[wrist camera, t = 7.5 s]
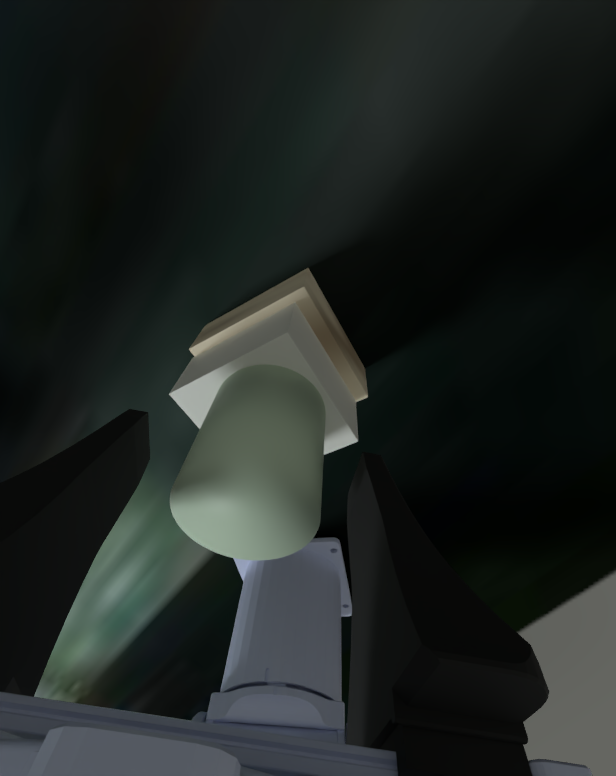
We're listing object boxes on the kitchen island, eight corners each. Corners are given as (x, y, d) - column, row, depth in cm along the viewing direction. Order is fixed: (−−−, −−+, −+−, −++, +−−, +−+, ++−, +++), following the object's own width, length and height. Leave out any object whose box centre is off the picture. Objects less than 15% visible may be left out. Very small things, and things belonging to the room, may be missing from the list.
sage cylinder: (331, 451, 17) (329, 558, 12) (230, 458, 17) (195, 562, 13) (317, 358, 14) (308, 451, 10) (201, 370, 15) (147, 462, 11)
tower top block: (355, 400, 19) (358, 441, 16) (259, 441, 21) (248, 484, 18) (295, 302, 16) (287, 332, 14) (192, 357, 18) (168, 393, 16)
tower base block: (364, 365, 21) (368, 396, 19) (270, 408, 23) (261, 441, 21) (308, 266, 19) (303, 286, 16) (207, 322, 21) (188, 349, 18)
